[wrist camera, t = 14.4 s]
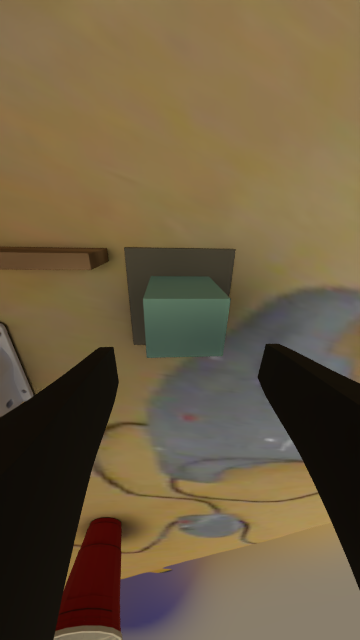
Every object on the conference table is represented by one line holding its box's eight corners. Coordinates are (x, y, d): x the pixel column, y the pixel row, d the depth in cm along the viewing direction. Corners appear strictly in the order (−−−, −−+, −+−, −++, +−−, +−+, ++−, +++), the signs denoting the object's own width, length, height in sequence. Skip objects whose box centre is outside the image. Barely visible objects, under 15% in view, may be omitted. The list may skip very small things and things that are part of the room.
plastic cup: (138, 510, 34) (126, 641, 23) (132, 536, 38) (118, 656, 27) (75, 509, 32) (28, 649, 21) (75, 536, 37) (37, 664, 26)
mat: (221, 340, 20) (222, 343, 19) (134, 342, 19) (133, 344, 19) (233, 249, 16) (235, 249, 15) (125, 247, 15) (124, 247, 15)
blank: (205, 318, 18) (222, 356, 13) (152, 319, 18) (146, 357, 12) (209, 276, 16) (230, 298, 11) (150, 276, 16) (143, 298, 11)
